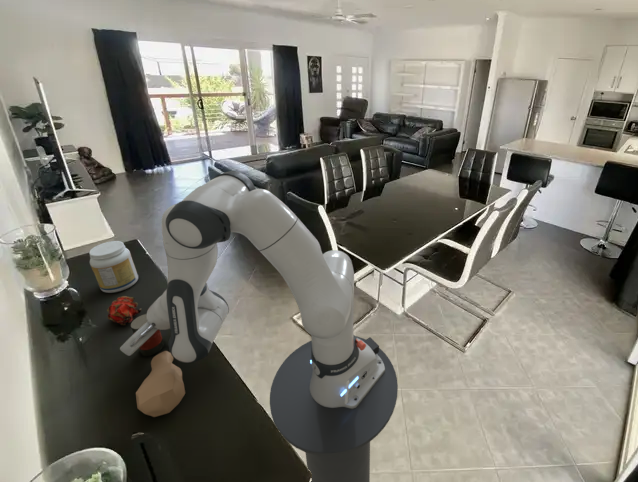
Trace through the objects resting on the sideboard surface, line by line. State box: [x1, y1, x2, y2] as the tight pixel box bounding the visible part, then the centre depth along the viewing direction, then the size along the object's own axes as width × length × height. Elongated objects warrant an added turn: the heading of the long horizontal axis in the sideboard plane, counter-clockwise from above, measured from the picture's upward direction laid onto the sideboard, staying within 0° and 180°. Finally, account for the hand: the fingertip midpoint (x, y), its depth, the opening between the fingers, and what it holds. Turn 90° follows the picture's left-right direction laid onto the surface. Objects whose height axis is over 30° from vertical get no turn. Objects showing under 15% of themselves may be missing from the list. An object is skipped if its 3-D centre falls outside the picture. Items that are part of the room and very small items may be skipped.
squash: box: [135, 350, 186, 418], centre depth 86 cm, size 11×20×9 cm, turn 35°
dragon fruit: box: [106, 295, 142, 326], centre depth 109 cm, size 8×8×12 cm
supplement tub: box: [89, 240, 139, 294], centre depth 124 cm, size 12×12×17 cm
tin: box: [130, 313, 165, 357], centre depth 97 cm, size 6×6×11 cm
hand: (145, 333), depth 97 cm, fingers open, 8 cm apart
